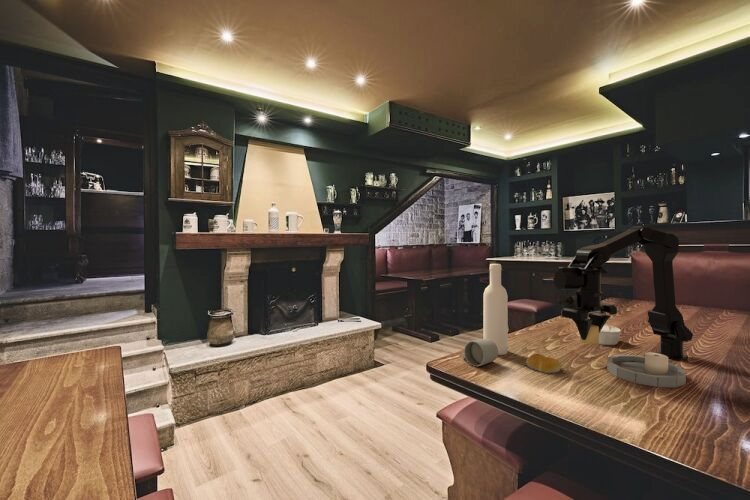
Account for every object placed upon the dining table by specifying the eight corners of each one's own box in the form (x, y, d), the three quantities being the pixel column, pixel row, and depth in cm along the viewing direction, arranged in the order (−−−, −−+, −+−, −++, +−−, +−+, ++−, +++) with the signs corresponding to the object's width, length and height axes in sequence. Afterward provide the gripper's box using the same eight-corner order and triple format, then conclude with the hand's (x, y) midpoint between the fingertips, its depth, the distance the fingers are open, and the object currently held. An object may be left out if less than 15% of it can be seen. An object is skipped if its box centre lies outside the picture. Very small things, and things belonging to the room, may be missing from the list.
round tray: (628, 359, 110) (628, 351, 109) (697, 379, 94) (697, 369, 94) (594, 369, 102) (594, 360, 102) (663, 392, 87) (663, 382, 86)
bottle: (500, 357, 113) (500, 265, 112) (478, 351, 119) (478, 264, 118) (512, 351, 119) (512, 264, 118) (491, 346, 125) (491, 262, 124)
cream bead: (650, 368, 99) (650, 351, 99) (671, 375, 94) (672, 356, 94) (640, 372, 97) (640, 354, 96) (661, 378, 92) (662, 359, 92)
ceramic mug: (500, 363, 108) (500, 339, 107) (484, 369, 103) (483, 344, 103) (472, 355, 116) (472, 332, 116) (456, 360, 111) (455, 336, 111)
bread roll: (553, 376, 98) (553, 362, 98) (522, 367, 105) (522, 354, 104) (566, 369, 103) (566, 355, 103) (536, 361, 110) (536, 348, 110)
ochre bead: (586, 338, 111) (586, 323, 111) (602, 343, 107) (602, 326, 106) (576, 341, 109) (576, 325, 109) (592, 345, 104) (592, 328, 104)
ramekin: (628, 346, 123) (628, 331, 123) (596, 346, 123) (596, 331, 123) (607, 337, 134) (607, 323, 134) (578, 337, 134) (578, 324, 134)
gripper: (583, 283, 118) (582, 328, 119) (545, 287, 110) (545, 336, 111) (618, 287, 108) (617, 337, 109) (579, 292, 100) (579, 345, 101)
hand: (589, 338), depth 108 cm, fingers closed on ochre bead, 5 cm apart
